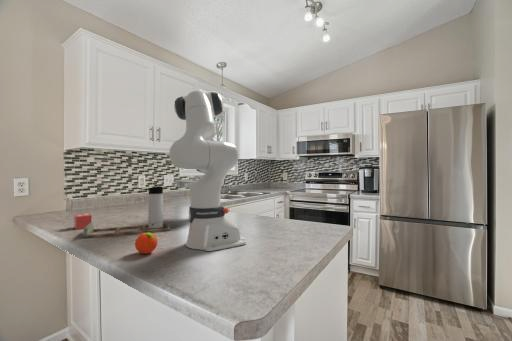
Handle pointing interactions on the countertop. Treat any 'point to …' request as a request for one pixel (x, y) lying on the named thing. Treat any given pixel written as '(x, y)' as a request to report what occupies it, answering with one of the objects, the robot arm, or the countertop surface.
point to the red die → (81, 221)
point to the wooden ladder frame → (90, 229)
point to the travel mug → (156, 208)
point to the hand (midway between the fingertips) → (178, 185)
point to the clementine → (146, 242)
